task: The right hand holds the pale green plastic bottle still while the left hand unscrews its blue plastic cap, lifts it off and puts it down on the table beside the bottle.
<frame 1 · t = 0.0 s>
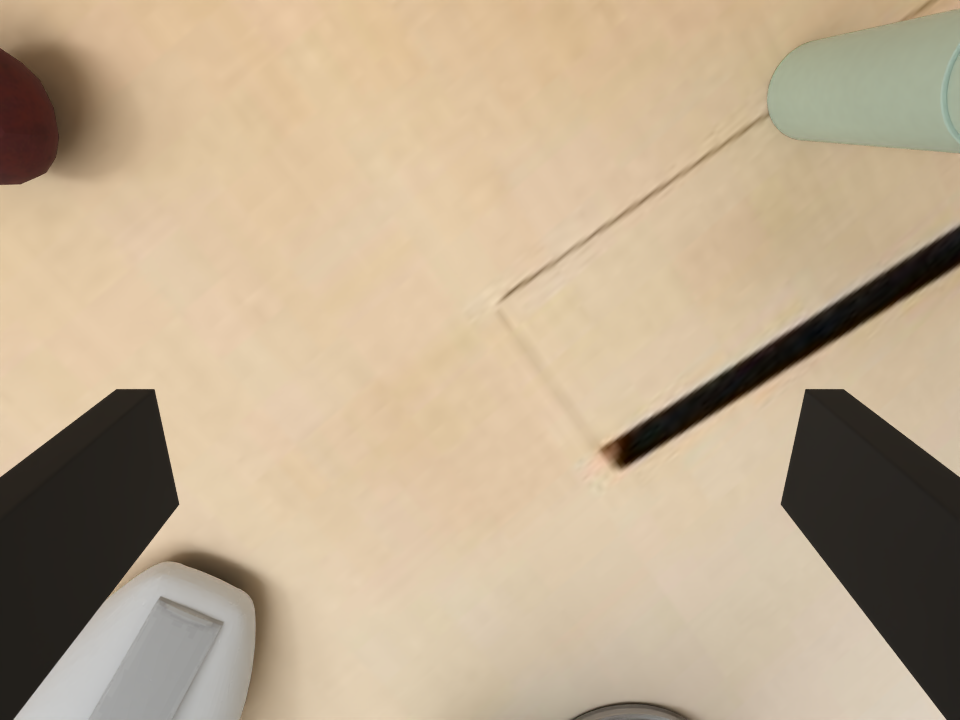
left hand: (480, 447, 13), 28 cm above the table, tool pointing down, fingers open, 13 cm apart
bottle: (813, 91, 36), on the table
projector: (164, 655, 52), on the table
dark maroon ball: (24, 115, 36), on the table
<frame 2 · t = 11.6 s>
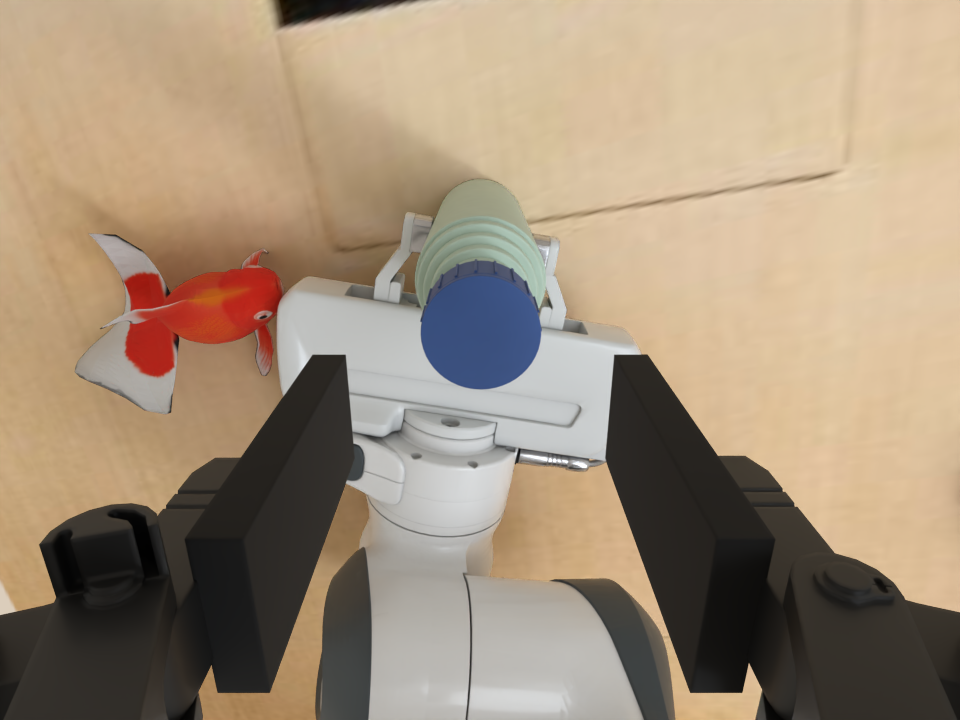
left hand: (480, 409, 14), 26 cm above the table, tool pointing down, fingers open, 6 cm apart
right hand: (482, 225, 33), fingers closed on bottle, 5 cm apart
bottle: (480, 223, 39), on the table, touching right hand
fish: (202, 306, 41), on the table
cap: (480, 331, 19), point 21 cm above the table, screwed on, not yet turned
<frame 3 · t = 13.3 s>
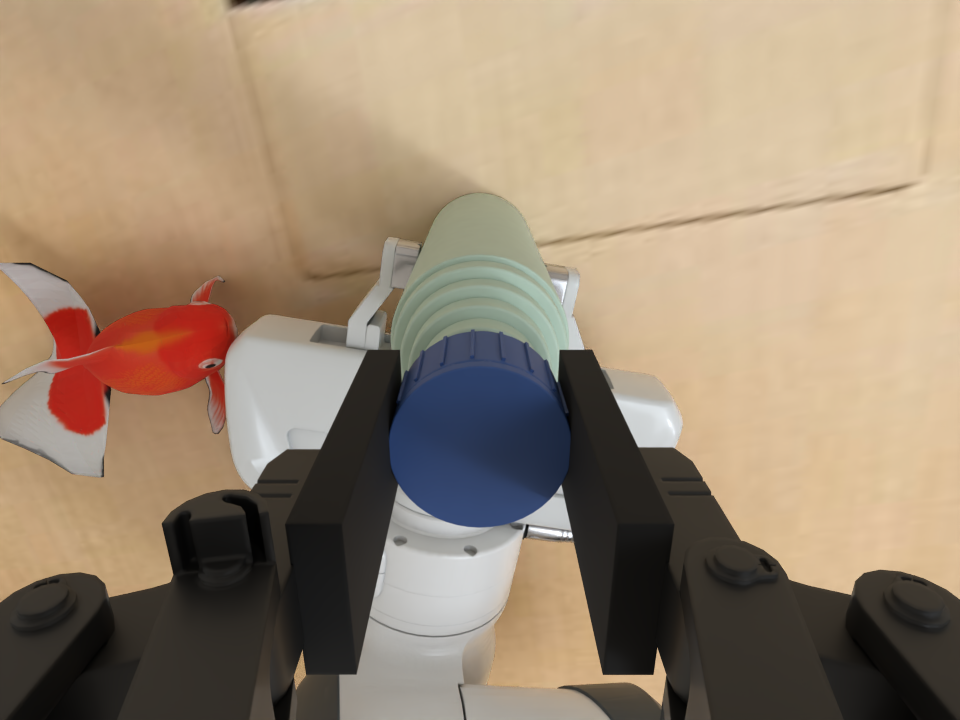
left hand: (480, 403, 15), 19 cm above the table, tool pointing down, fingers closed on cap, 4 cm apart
right hand: (482, 254, 26), fingers closed on bottle, 5 cm apart
bottle: (479, 245, 32), on the table, touching right hand
fish: (148, 343, 34), on the table
cap: (480, 444, 13), point 21 cm above the table, screwed on, not yet turned, touching left hand
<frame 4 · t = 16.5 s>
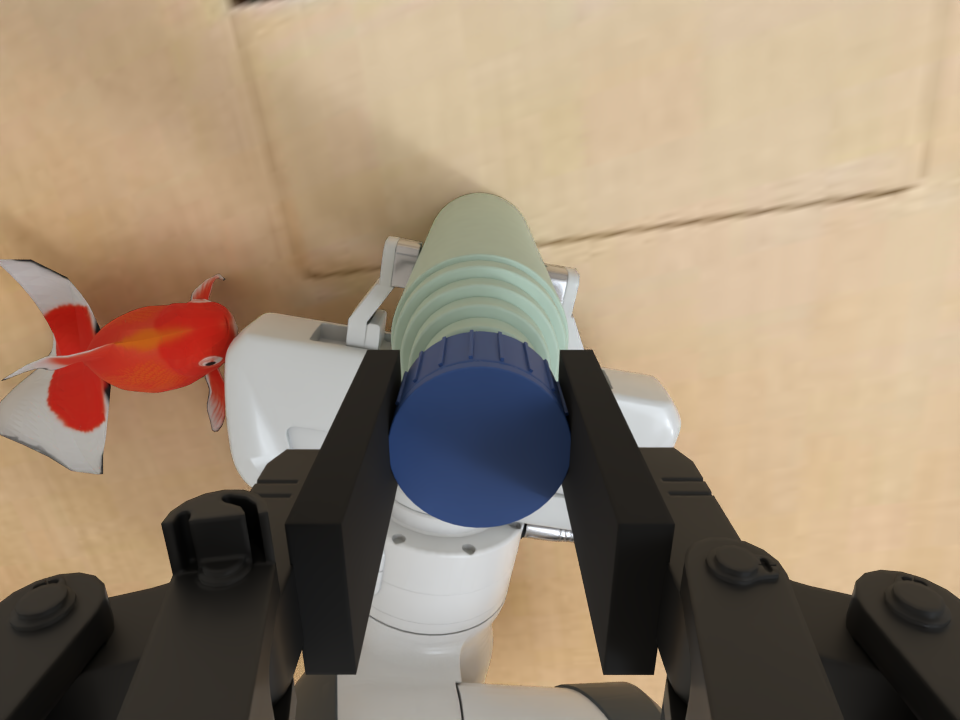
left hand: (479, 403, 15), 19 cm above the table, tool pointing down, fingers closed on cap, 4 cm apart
right hand: (482, 254, 26), fingers closed on bottle, 5 cm apart
bottle: (479, 245, 32), on the table, touching right hand
fish: (148, 341, 34), on the table
cap: (479, 444, 13), point 21 cm above the table, turned 96° so far, risen 0.1 cm, still on its thread, touching left hand
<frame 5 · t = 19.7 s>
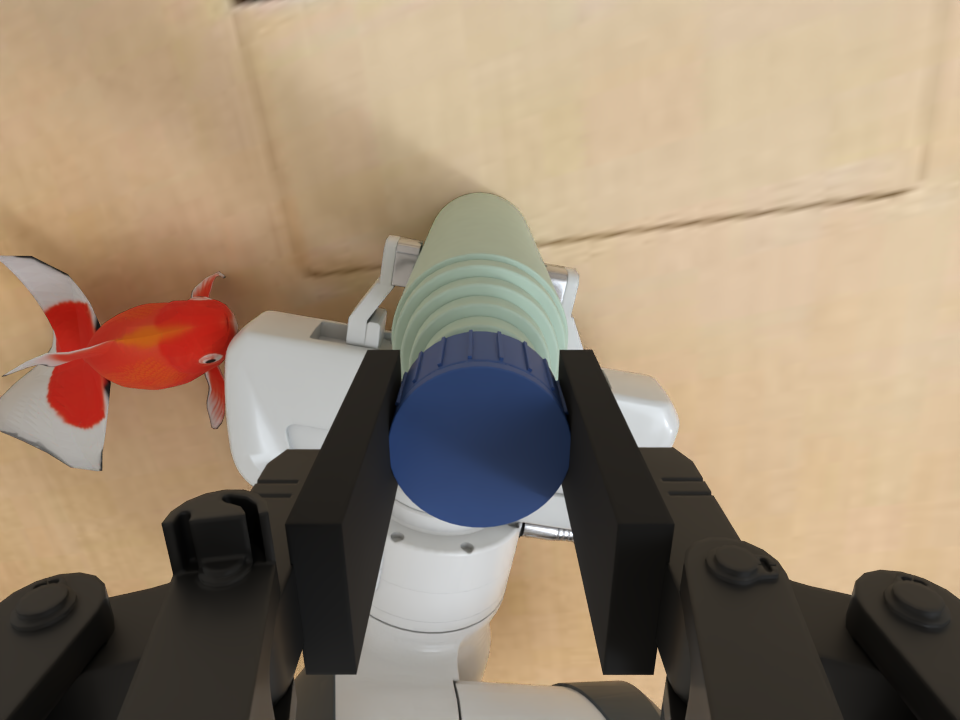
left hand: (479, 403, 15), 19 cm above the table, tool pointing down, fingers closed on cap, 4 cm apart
right hand: (482, 253, 26), fingers closed on bottle, 5 cm apart
bottle: (479, 245, 32), on the table, touching right hand
fish: (148, 338, 34), on the table
cap: (479, 444, 13), point 21 cm above the table, turned 191° so far, risen 0.2 cm, still on its thread, touching left hand
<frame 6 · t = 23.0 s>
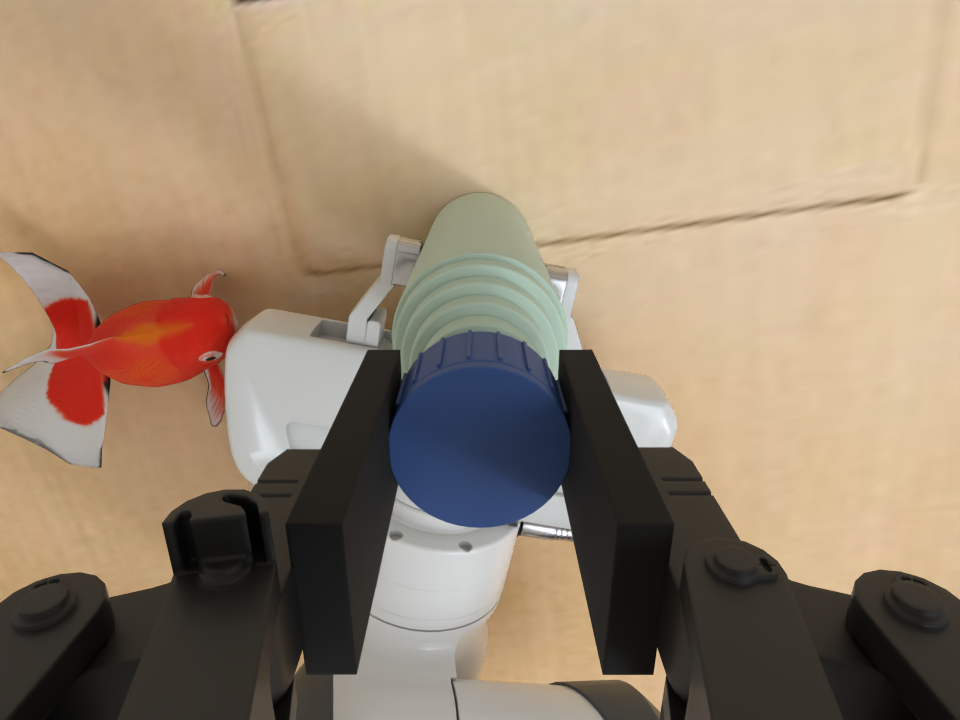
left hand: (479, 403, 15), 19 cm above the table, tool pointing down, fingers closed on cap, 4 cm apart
right hand: (482, 253, 26), fingers closed on bottle, 5 cm apart
bottle: (479, 244, 32), on the table, touching right hand
fish: (147, 335, 34), on the table
cap: (479, 444, 13), point 21 cm above the table, turned 287° so far, risen 0.3 cm, still on its thread, touching left hand
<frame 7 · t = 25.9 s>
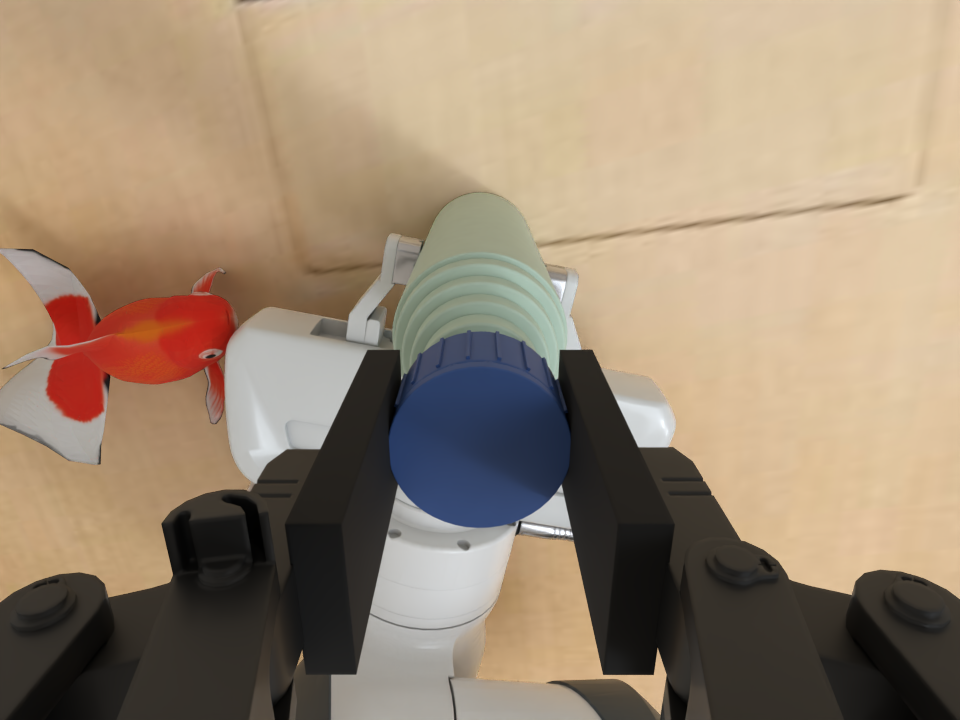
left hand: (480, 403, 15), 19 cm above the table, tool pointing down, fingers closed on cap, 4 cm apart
right hand: (483, 253, 26), fingers closed on bottle, 5 cm apart
bottle: (480, 244, 33), on the table, touching right hand
fish: (147, 333, 34), on the table
cap: (479, 444, 13), point 21 cm above the table, turned 383° so far, risen 0.4 cm, still on its thread, touching left hand
when the left hand's fingers open (2 cm above the table, at t = 32.5 s): cap drops 2 cm, point 2 cm above the table.
when the right hand's fingers open (6 cm above the table, at t = 33.9 s): bottle stays where it is, on the table.
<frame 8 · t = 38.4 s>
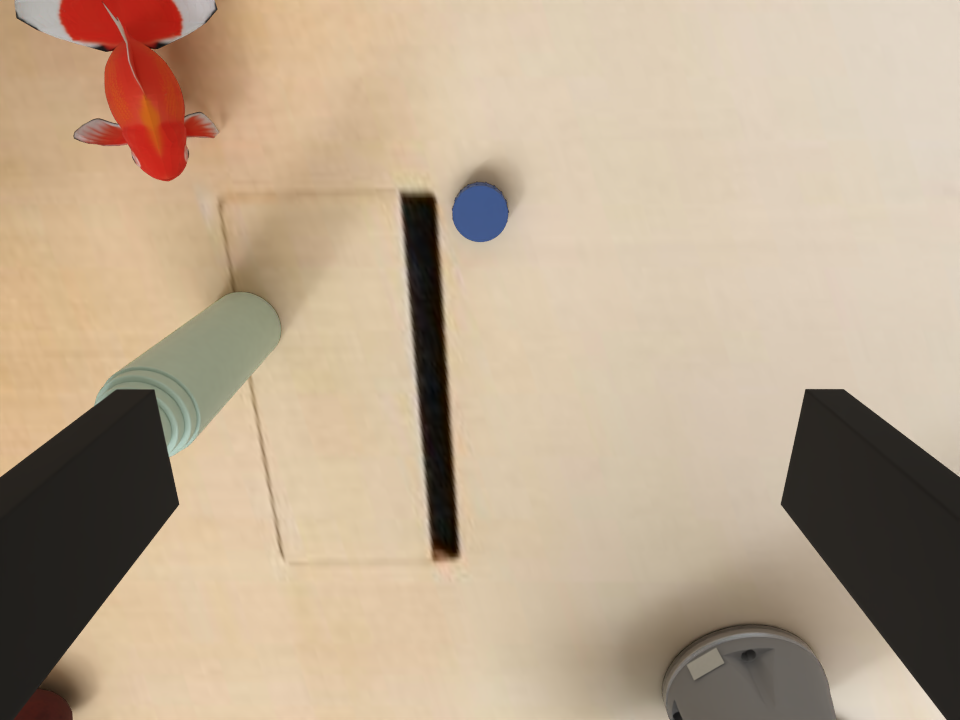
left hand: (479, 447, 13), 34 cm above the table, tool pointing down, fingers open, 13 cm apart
bottle: (245, 325, 47), on the table
dark maroon ball: (49, 696, 61), on the table
fish: (157, 48, 40), on the table
cap: (480, 213, 42), point 2 cm above the table, off its thread
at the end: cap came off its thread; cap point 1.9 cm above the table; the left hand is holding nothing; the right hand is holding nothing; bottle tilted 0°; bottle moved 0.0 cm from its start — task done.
